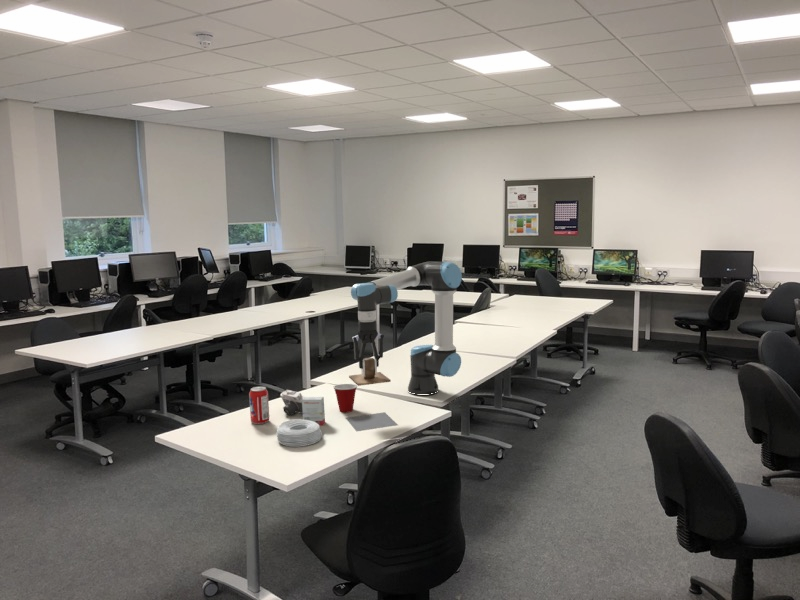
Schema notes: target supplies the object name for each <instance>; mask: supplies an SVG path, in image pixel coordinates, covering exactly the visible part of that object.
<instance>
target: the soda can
mask: <svg viewBox="0 0 800 600" xmlns="http://www.w3.org/2000/svg"><path fill="white" fill-rule="evenodd" d="M248 398H249V412H250V413H249V414H250V422H251V423H252V424H254V425H262V424H266V423H267V422H269V420H270V406H269V405H270V404H269V391H268V390H267V387H266V386H253V387H252V388H250V391H249V393H248Z"/></svg>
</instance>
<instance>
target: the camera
mask: <svg viewBox="0 0 800 600" xmlns="http://www.w3.org/2000/svg"><path fill="white" fill-rule="evenodd" d="M304 397H306V396H305V395H302V393H301V392H298V391H294V390H290V389H286V390H285V391H282V392H281V393H280V398H281V400H282V401H283V404H284V406H283V407H282V409H283V412H284V413H285V414H286V415H287V416H290V415H291V416H292V415H293V414H295V413H299V414H303V410H302V400H303V398H304Z"/></svg>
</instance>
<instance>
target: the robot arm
mask: <svg viewBox="0 0 800 600" xmlns="http://www.w3.org/2000/svg"><path fill="white" fill-rule="evenodd" d="M462 277H463V276H462V271H461V268H460V267H459V266H458V264H456V263H454V262H449V261H426V262H425V261H424V262H422V263H418V264H415V265H412V266H408V267H407V268H406V269H405V270H403V271H400V272H397V273H393V274H391V275H388V276H383V277H381V278H379V279H374V280H372V281H368V282H362V283H355V284H353V285H352V287H351V289H350V295H351V298H352V299H353V300H355V301H357V319H358V333H357V335H355V336H352V337H351V339H352V342H353V358H354V360H356V361H358V369H360V370H361V374H362V376H363V377H365V361H363V359H364V356H365V351H366V347H367V344H368V343H370V345H371V350H372V353H373V357H374V370H375V375H377V372H378V369H377V368H378V367H379V365H380V363H379V361H380V359H382V358H383V357H384V356H383V355H384V347H383V346H384V344H383V341H384V337H385V335H384V334H383V333H379V332H378V329H377V321H376V320H377V306H378V305H385V304H391V303H394V302H395V301H397V300H398V297H399V296H398V295H399V293H398V292H399V290H402V289H405V288H407V287H417V286H429V287H431V292H432V293H433V294H434V344H422V345H421V344H420V345H416V346H413V347H412V348H411V349H410V355H409V357H410V378H409V379H410V380H409V383H408V386H407V392H408V391H409V392H411V393H415V394H431V393H435V392H437V391H438V392H439V385H438V382H437V379H436V375H438V376H441V377H448V378H451V377H454V376H455V375H456V374H457V373H458V372H459V371H460V368H461V365H462V358H461V355H460V354H459V353H458V352H457V347H456V346H455V345H454V294H455V293H456V292H457V288H459V286H460V285H461V283H462V279H463V278H462ZM359 339H360V349H359V343H358V341H359ZM376 339H377V345H376V341H375V340H376ZM409 392H408V393H409Z"/></svg>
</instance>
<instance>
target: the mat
mask: <svg viewBox="0 0 800 600" xmlns="http://www.w3.org/2000/svg"><path fill="white" fill-rule="evenodd" d="M345 419H346V420H347V422H348V423H349V424H350V425H351V426H352V427H353V429H354V430H355V431H356V432H361V431H368V430H374V429H375V430H376V429H381V428H382V429H383V428H389V427H395V426H399V424H398V423H397V422H396V421H395V420H393V419H392V418H391V417H390V415H388V414H387V413H386V411H385V412H376V413H369V414H363V415H357V416H355V415H354V416H348V417H345Z"/></svg>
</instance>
